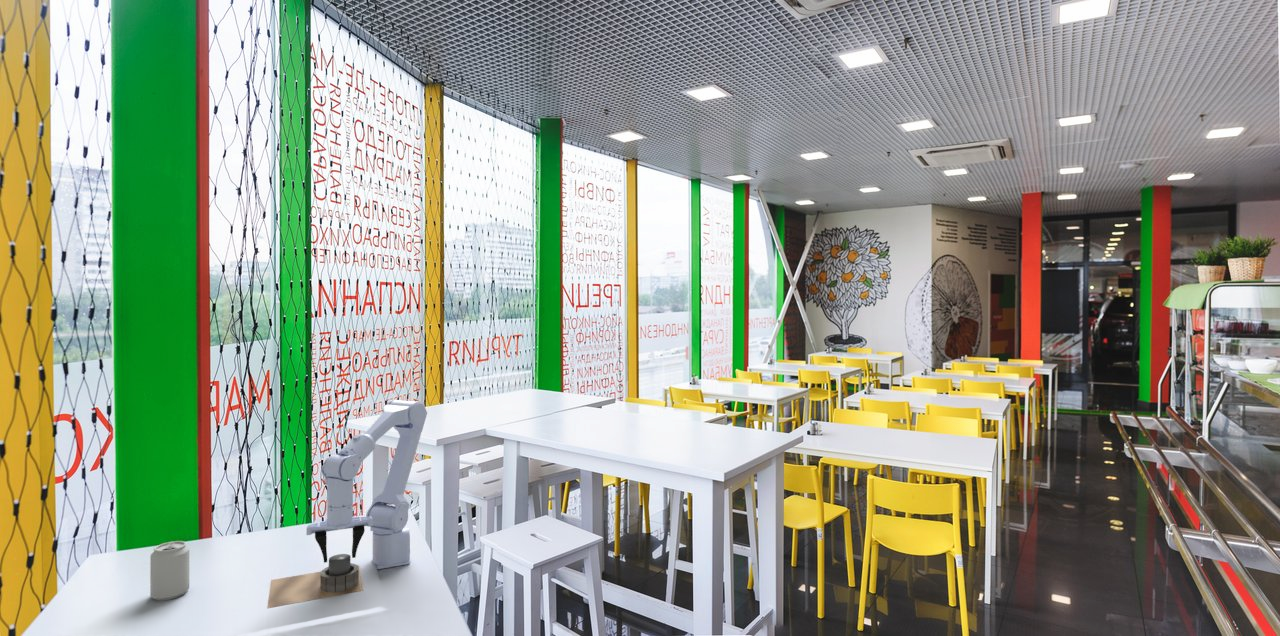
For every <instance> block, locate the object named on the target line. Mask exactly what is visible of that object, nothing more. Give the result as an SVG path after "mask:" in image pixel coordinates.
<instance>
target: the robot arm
mask: <svg viewBox="0 0 1280 636" xmlns="http://www.w3.org/2000/svg"><path fill="white" fill-rule="evenodd" d="M427 415H428V411H427V408H426V405H425V404H424V403H423V402H421V401H420V400H418V401H417V400H416V401H411V400H401V399H399V400H398V399H395V398H394V399H390V400H389V401H388V402H387V403H386V404H385V405H384V406H383V408H382V413H381V414H380V416H379V417H378V418H377V419H376V420H375V421H374V423H373V424H371V426H370V427H369V428H368V429H367V430H366V431H365V432H364V433H358V434H355V435H354V436H353V437H352V439H351V440H350V441H349V442H348V443H347V444H346V445H345V446H344V447H343V448H341V449H340V450H339V452H338V453H337V454H331V455H330V456H328V457H327V458H326V459H325V460H324V462H323V465H322V468H321V469H320V470H321V474H322V476H323V477H324V483H325V485H326V486H327V487H326V489H327V491H326V520H324V521H320V522H316V523H310V524H306V536H311V535H314V538H315V541H316V542H317V544H318V546H319V548H320V551H321V554H322V557H323V563H328V551H327V542H328V541H327V539H328V538H327V532H333V531H340V530H347V529H352V546H351V547H352V548H351V556H352V557H351V559H355V558H356V556H357V552H358V547H359V545H360V541H361V540H362V538H363V536H364V533H365V530H366V529H365V527H370V532H372V563H373V564H375V568H376V570H383V569H388V568H394V567H400V566H404V565H409V564H411V557H410V556H411V555H410V554H411V535H410V528H409V527H408V526H406V525H407V523H408V520H409V508H410V503H409V501H408V500H407V499H406V497H405V496H404V493H405V491H406V487H407V484H408V481H409V477H410V474H411V471H412V470H411V469H412V467H413V463H414V460H415V457H416V453H417V450H418V445H419V441H420V440H421V439H420V438H421V436H422V432H423V429H424V425H425V422H426V418H427ZM392 428H393V429H394V430H395V431H397V434H399V439H398V441H397V445H396V448H395V451H394V455H393V458H392V461H391V465H390V468H389V471H388V475H387V478H386V481H385V484H384V487H383V492H381V493H379V494H378V495H376V496H375V497H374V498H373V499H372V500H373V501H372V502H371V504H370V506H369V508H368V510H367V511H366V515H365V516H354V513H353V512H354V499H353V498H354V478H355V477H357V475H358V473H359V469H360V467H361V466H362V462H363V461H364V460H365V459H367V457H368V456H369V455H370V454H371V453H372V452H373V451H374V450H375V448H376V442H377V441H378V440H379V439H381V437H383V436H384V435H385V434H386V433H387V432H389V431H390V430H391V429H392Z"/></svg>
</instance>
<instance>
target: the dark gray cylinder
mask: <svg viewBox="0 0 1280 636" xmlns="http://www.w3.org/2000/svg"><path fill="white" fill-rule="evenodd" d="M351 556H352V555H351V554H347V553H340V554H335V555H333V556H332V555H331V557H329V558H328V567H329V576H340V575H345V574H347V573H350V563H351V558H352V557H351Z"/></svg>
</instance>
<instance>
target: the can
mask: <svg viewBox="0 0 1280 636" xmlns="http://www.w3.org/2000/svg"><path fill="white" fill-rule="evenodd" d="M149 557H150V563H149V565H150V566H149V567H150V568H149V569H150V570H149V571H150V576H149V577H150V581H149V582H150V587H149V588H150V592H149V593H150V595H149V596H150V597H151V598H152V599H154V600H156V601H169V600H174V599H176V598H179V597H181V596H183V595H184V594H185V593H186V592H187V591H188V590H189V589H190V547H189V546H187V542H186V541H183V540H175V541H168V542H163V543H160V544H159V545H158V544H157V545H156V546H155V547H153V552H152V553H150V556H149Z"/></svg>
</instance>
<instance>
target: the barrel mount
mask: <svg viewBox="0 0 1280 636" xmlns="http://www.w3.org/2000/svg"><path fill="white" fill-rule="evenodd" d="M361 574H362V573H361V569H360V565H359V564H356V563H352V562H350V573H347V574H345V575H340V576H329V566H327V567H324V568H323V569H322V570H320V571H317V572H310V573H304V574H298V575H292V576H287V577H279V578H275V579H271V580H270V586H269V594H268V602H267V609H271V608H272V609H273V608H276V607H282V606H288V605H293V604H298V603H305V602H309V601H316V600H320V599H325V598H326V599H327V598H330V597H337V596H341V595H347V594H352V593H358V592H362V591H364V585H363V580H362V576H361Z"/></svg>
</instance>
